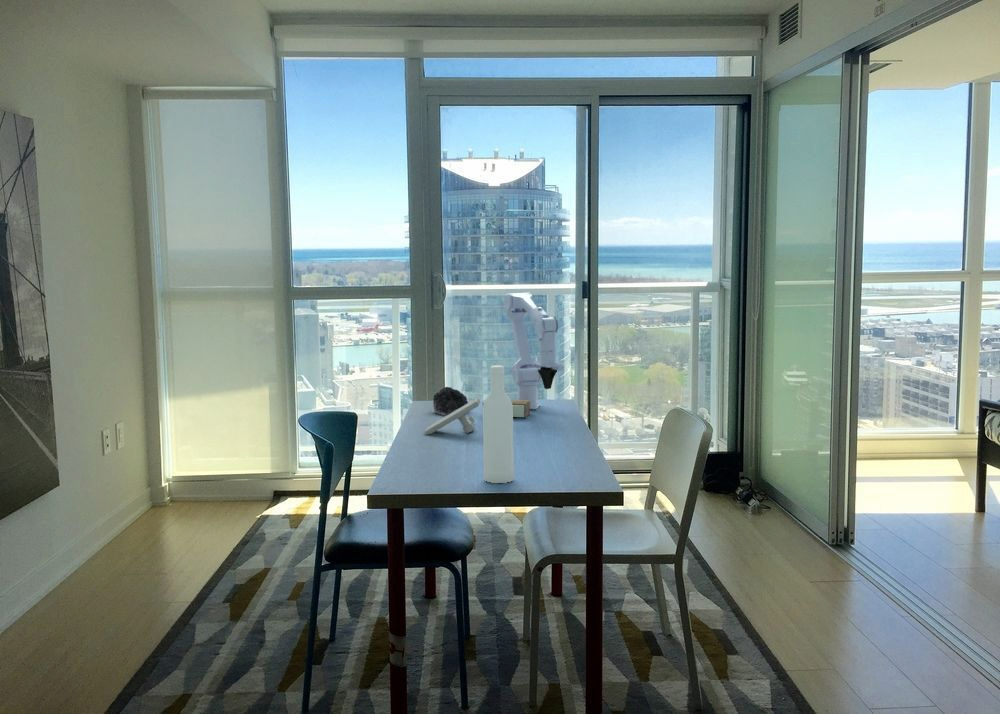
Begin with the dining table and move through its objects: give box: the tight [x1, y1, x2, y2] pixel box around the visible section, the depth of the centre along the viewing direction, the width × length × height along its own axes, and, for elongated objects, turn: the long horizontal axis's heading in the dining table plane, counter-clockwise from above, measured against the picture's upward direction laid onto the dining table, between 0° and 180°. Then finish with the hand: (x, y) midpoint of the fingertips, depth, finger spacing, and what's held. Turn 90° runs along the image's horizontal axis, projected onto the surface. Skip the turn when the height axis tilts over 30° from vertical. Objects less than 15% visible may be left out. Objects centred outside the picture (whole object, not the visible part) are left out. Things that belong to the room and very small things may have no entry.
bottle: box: [482, 365, 515, 484], centre depth 212 cm, size 8×8×30 cm
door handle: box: [424, 397, 481, 435], centre depth 275 cm, size 18×8×20 cm
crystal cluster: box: [432, 386, 469, 416], centre depth 304 cm, size 13×14×10 cm
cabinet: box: [482, 399, 531, 417], centre depth 296 cm, size 7×16×5 cm, turn 78°
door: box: [513, 405, 528, 418], centre depth 292 cm, size 2×15×4 cm, turn 77°
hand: (547, 388), depth 294 cm, fingers closed
